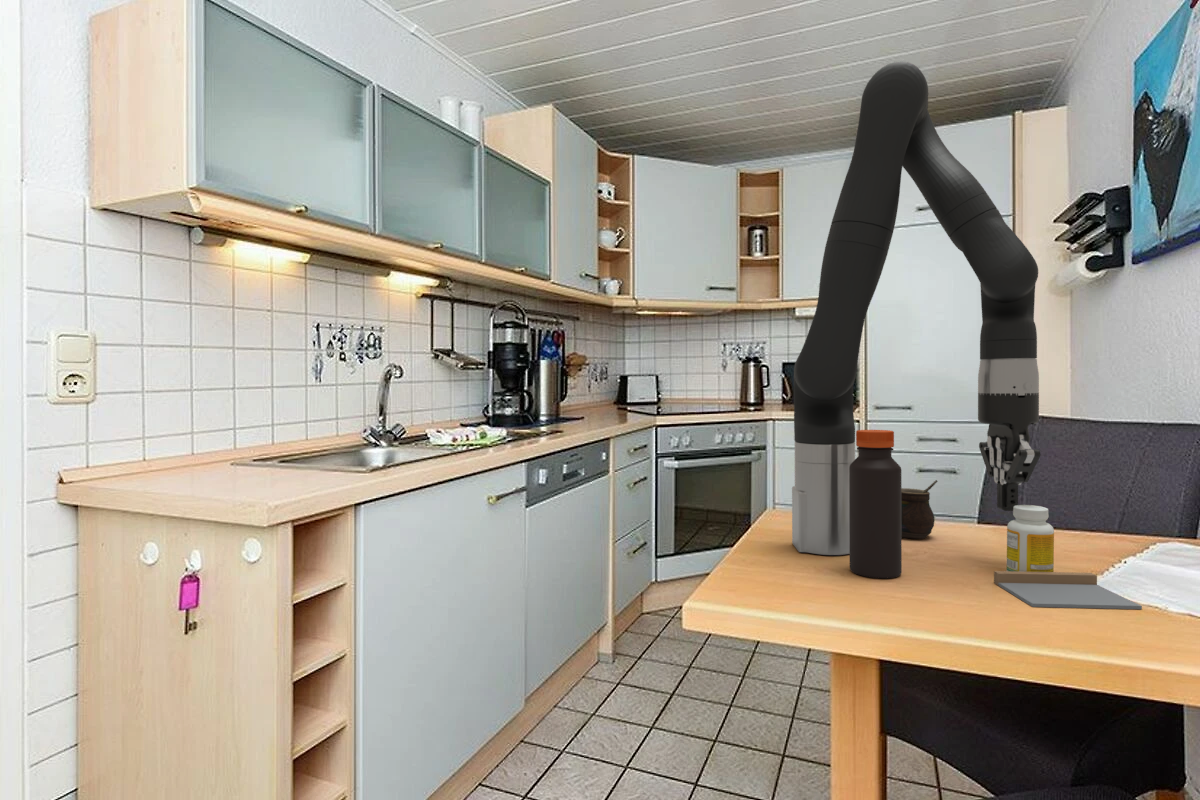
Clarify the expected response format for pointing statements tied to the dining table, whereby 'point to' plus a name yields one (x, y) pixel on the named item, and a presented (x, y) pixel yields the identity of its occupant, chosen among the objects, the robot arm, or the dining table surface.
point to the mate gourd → (916, 513)
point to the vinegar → (875, 507)
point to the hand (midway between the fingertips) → (1007, 509)
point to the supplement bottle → (1030, 540)
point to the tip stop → (1060, 590)
